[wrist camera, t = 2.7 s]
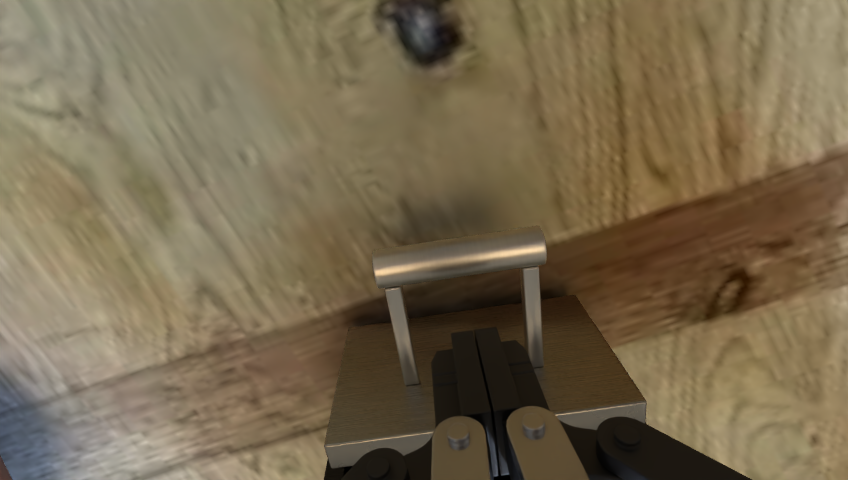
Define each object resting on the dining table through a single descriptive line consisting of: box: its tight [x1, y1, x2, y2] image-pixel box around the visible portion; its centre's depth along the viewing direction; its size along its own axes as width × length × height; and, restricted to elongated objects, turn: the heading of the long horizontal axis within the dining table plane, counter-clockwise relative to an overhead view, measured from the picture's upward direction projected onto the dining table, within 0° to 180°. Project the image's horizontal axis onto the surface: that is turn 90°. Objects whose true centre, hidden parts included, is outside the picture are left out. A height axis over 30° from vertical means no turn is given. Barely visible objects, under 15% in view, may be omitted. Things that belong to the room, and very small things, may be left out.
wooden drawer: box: [324, 226, 647, 470], centre depth 21 cm, size 19×11×7 cm, turn 8°
